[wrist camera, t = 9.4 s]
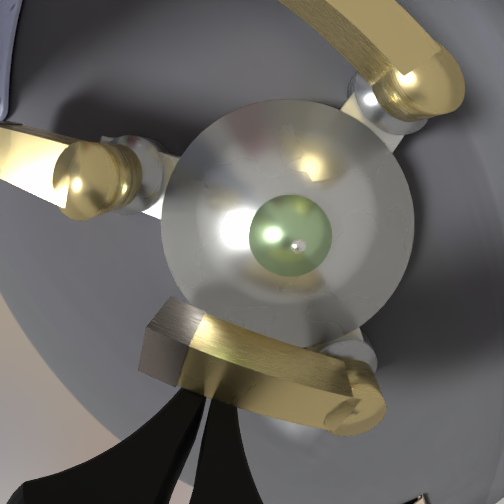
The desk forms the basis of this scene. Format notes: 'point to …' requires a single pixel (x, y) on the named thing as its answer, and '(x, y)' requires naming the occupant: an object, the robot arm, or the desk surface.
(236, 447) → the robot arm
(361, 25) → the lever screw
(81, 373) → the desk surface
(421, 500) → the newspaper
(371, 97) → the base
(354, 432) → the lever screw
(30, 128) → the lever
